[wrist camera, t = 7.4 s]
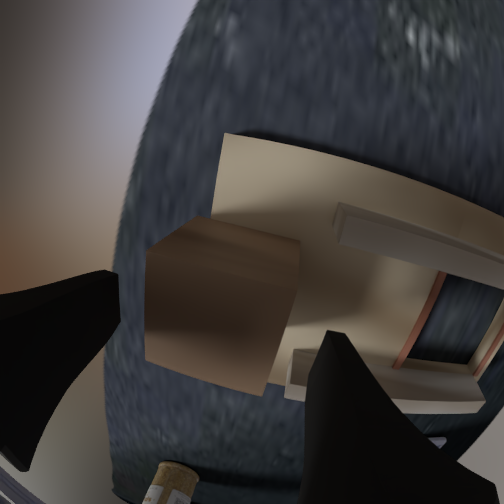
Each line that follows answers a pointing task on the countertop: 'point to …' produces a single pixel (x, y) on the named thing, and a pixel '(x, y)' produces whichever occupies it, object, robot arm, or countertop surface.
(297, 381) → the frame
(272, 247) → the walnut block
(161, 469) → the sprinkles bottle
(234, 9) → the countertop surface
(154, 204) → the countertop surface
